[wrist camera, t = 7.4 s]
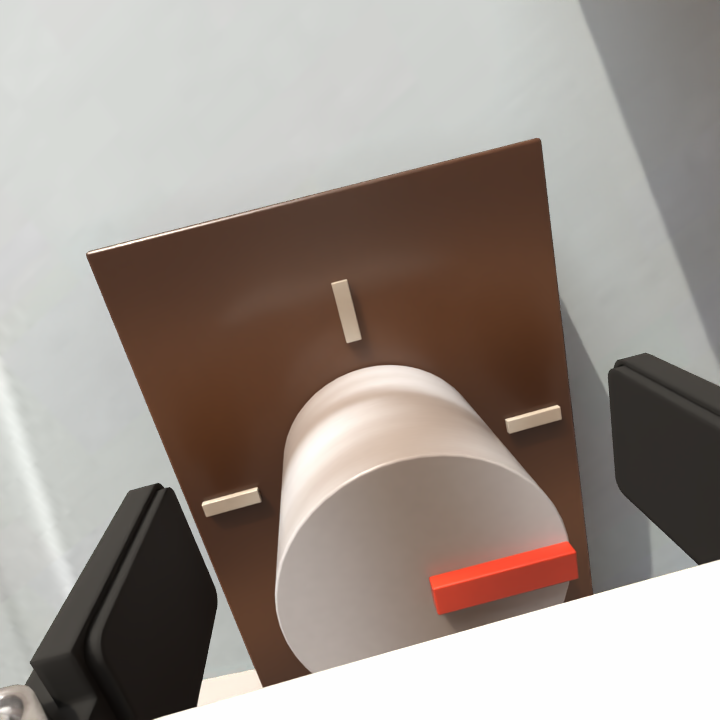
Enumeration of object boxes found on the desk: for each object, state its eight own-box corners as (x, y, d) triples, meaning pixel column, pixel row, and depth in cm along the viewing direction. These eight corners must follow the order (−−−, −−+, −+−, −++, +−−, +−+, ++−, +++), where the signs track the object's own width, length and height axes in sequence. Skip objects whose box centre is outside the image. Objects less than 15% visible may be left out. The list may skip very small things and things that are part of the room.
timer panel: (129, 242, 13) (79, 253, 10) (491, 150, 14) (545, 135, 11) (271, 617, 17) (265, 704, 14) (548, 539, 18) (598, 607, 15)
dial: (310, 564, 13) (316, 753, 9) (259, 392, 12) (233, 512, 7) (492, 517, 13) (591, 677, 9) (466, 342, 12) (568, 427, 7)
